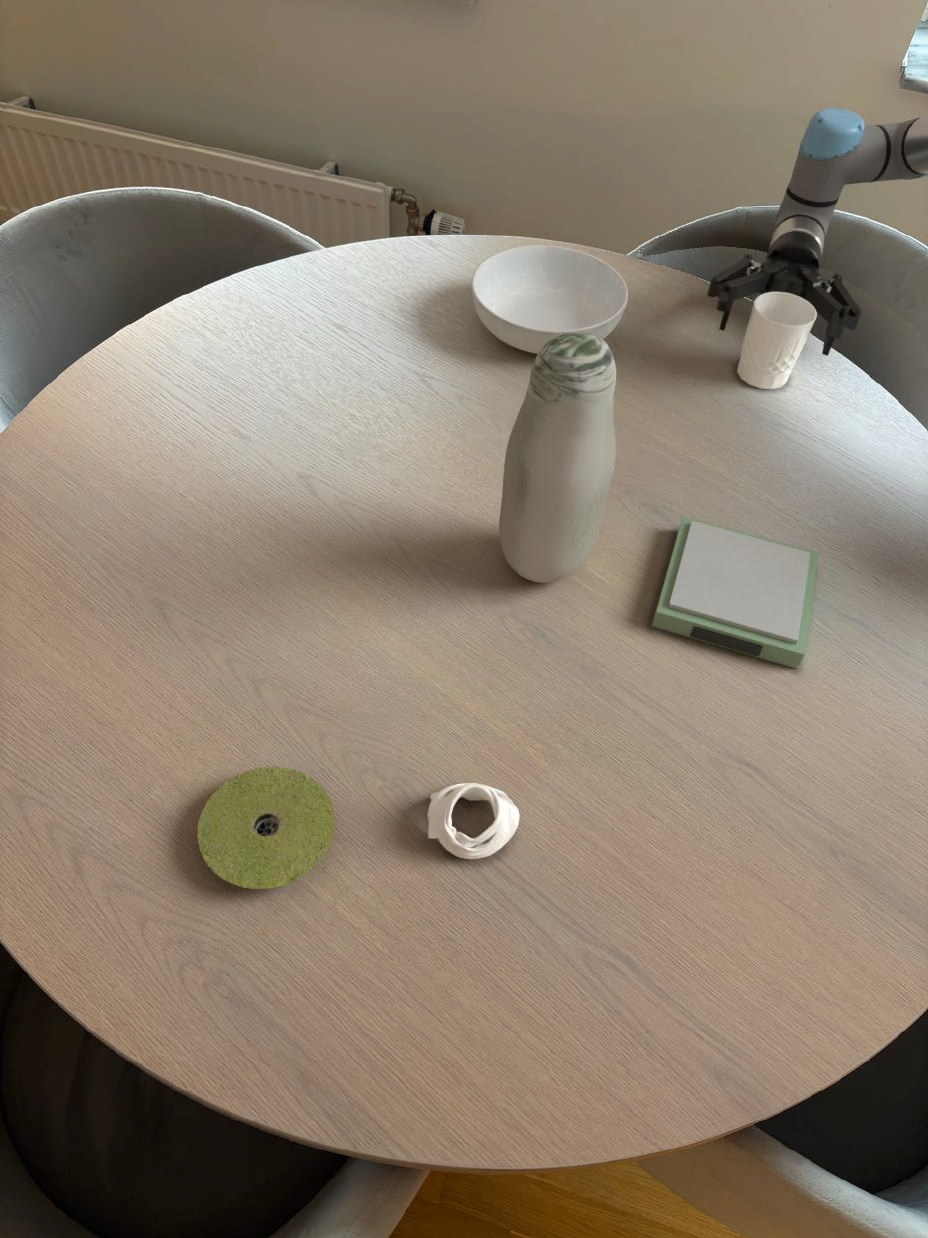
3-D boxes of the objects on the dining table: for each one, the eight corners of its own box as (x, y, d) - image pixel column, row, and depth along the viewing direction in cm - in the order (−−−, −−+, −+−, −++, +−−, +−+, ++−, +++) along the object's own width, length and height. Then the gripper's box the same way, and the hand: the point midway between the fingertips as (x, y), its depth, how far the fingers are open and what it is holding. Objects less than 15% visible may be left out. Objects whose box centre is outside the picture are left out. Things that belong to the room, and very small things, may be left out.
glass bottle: (526, 519, 107) (559, 296, 85) (604, 560, 103) (660, 338, 82) (476, 570, 102) (498, 345, 80) (557, 615, 98) (603, 393, 77)
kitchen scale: (811, 567, 105) (820, 548, 102) (796, 671, 95) (806, 653, 93) (678, 531, 107) (684, 511, 105) (650, 628, 98) (656, 609, 95)
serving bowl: (460, 289, 136) (463, 244, 131) (602, 288, 139) (610, 243, 134) (477, 377, 123) (481, 331, 118) (634, 374, 126) (644, 329, 120)
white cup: (803, 381, 127) (830, 315, 119) (762, 399, 124) (786, 332, 116) (761, 351, 131) (784, 285, 123) (720, 368, 128) (741, 301, 120)
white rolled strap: (512, 796, 85) (521, 764, 82) (520, 863, 81) (530, 831, 77) (423, 795, 84) (429, 762, 81) (427, 863, 79) (432, 831, 76)
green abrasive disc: (347, 879, 78) (347, 869, 77) (209, 914, 76) (205, 904, 74) (321, 765, 85) (320, 753, 84) (193, 793, 83) (190, 782, 81)
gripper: (872, 299, 137) (862, 380, 124) (702, 260, 142) (675, 335, 128) (892, 250, 132) (884, 330, 119) (715, 211, 136) (688, 285, 123)
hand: (775, 333), depth 123 cm, fingers open, 13 cm apart
